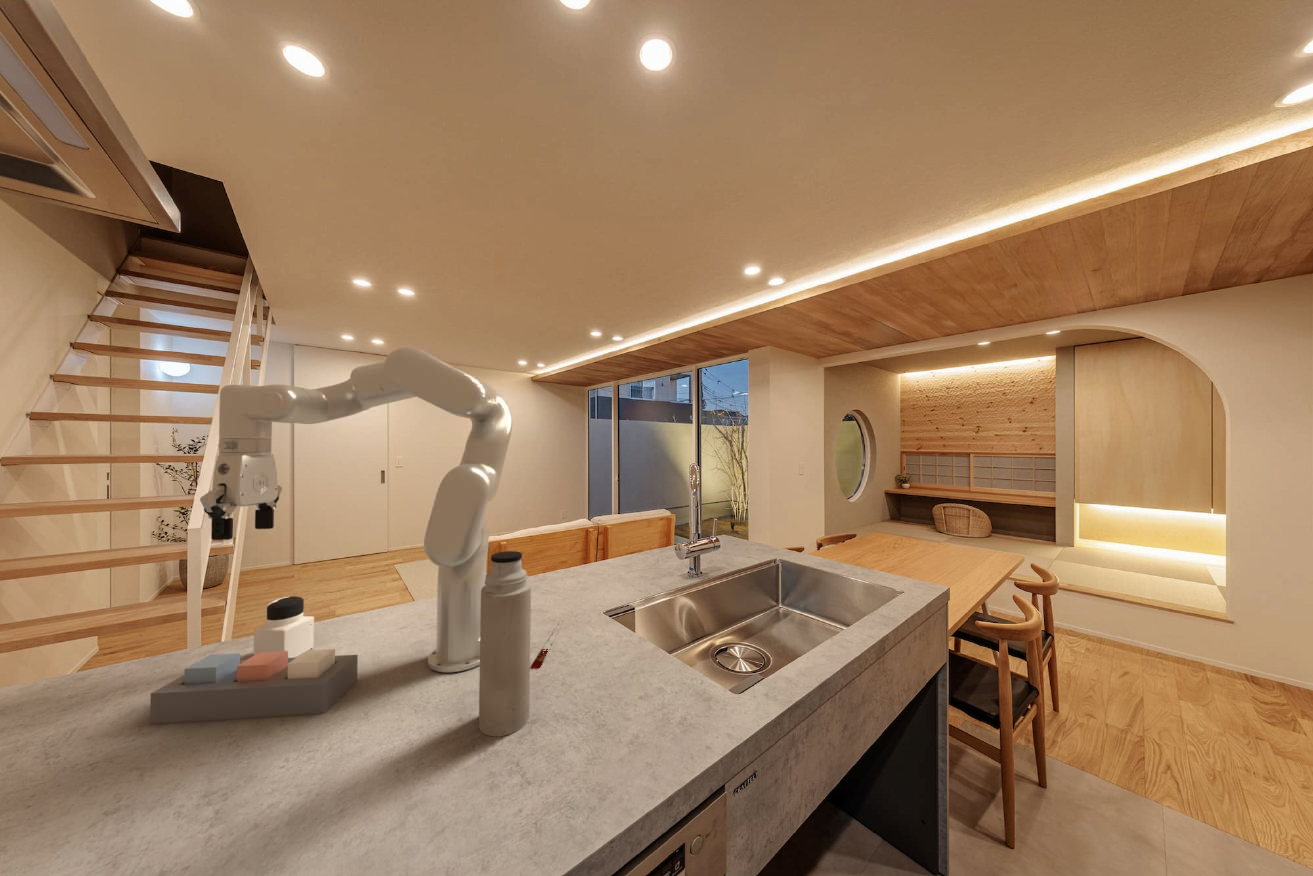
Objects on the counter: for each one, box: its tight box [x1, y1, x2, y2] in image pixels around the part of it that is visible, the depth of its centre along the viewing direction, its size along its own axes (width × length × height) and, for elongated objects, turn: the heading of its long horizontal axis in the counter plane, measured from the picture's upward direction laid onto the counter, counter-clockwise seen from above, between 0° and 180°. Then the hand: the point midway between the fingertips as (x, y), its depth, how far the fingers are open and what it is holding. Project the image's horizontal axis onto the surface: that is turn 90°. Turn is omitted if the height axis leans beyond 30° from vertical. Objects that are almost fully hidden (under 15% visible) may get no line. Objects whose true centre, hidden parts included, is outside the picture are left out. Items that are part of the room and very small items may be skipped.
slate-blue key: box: [184, 652, 241, 685], centre depth 75 cm, size 5×5×4 cm
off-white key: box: [288, 648, 336, 679], centre depth 77 cm, size 5×5×4 cm
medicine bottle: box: [253, 595, 315, 658], centre depth 92 cm, size 7×7×12 cm
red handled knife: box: [530, 648, 549, 669], centre depth 99 cm, size 2×24×1 cm, turn 0°
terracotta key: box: [237, 651, 288, 682], centre depth 76 cm, size 5×5×4 cm
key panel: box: [149, 654, 359, 725], centre depth 76 cm, size 26×10×5 cm, turn 97°
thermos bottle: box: [478, 550, 532, 737], centre depth 71 cm, size 8×8×28 cm
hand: (244, 533), depth 84 cm, fingers open, 9 cm apart
